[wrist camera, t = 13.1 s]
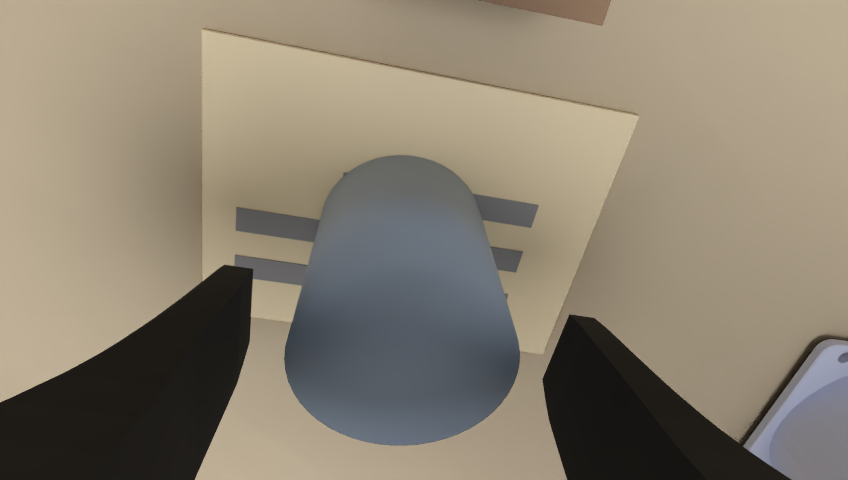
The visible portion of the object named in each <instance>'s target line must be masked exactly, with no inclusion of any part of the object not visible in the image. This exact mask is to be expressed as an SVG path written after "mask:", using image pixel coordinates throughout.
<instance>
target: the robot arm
mask: <svg viewBox="0 0 848 480" xmlns="http://www.w3.org/2000/svg"><path fill="white" fill-rule="evenodd" d="M252 285H253V269H251V268H244V267H237V266H231V265H223V266H222V267H220V268H219V269H217V270H216V271H215V272H214V273H212V274H211V275H210V276H209V277H207V278H206V279H205V280H204V281H202V282H201V283H200V284H199V285H197V286H196V287H195V288H194V289H192V290H191V291H190V292H189V293H187V294H186V295H185V296H183V297H182V298H181V299H179V300H178V301H177V302H175V303H174V304H173V305H171V306H170V307H169V308H167V309H166V310H165V311H163V312H162V313H161V314H159V315H158V316H157V317H155V318H154V319H152V320H151V321H149V322H148V323H146V324H145V325H143V326H142V327H140V328H139V329H137V330H136V331H134V332H133V333H131V334H130V335H128V336H127V337H125V338H124V339H122V340H121V341H119V342H118V343H116V344H115V345H113V346H111V347H110V348H108V349H106V350H105V351H103V352H101V353H100V354H98V355H96V356H94V357H93V358H91V359H89V360H87V361H85V362H83V363H82V364H80V365H78V366H76V367H74V368H72V369H70V370H69V371H67V372H65V373H63V374H61V375H59V376H56V377H54V378H52V379H50V380H48V381H46V382H44V383H42V384H39V385H37V386H35V387H33V388H31V389H29V390H27V391H25V392H22V393H20V394H18V395H16V396H14V397H12V398H10V399H7V400H5V401H3V402H0V480H195V478H196V475H197V473H198V470H199V468H200V466H201V464H202V461H203V459H204V457H205V455H206V452H207V450H208V448H209V446H210V443H211V441H212V439H213V437H214V434H215V432H216V430H217V428H218V425H219V423H220V421H221V419H222V416H223V414H224V412H225V410H226V407H227V405H228V403H229V400H230V398H231V396H232V394H233V391H234V389H235V387H236V384H237V382H238V378H239V375H240V372H241V369H242V366H243V362H244V359H245V355H246V352H247V349H248V345H249V341H250V322H251V303H252ZM543 386H544V392H545V399H546V405H547V411H548V416H549V421H550V424H551V428H552V431H553V435H554V438H555V441H556V445H557V448H558V451H559V454H560V458H561V461H562V464H563V467H564V470H565V474H566V477H567V480H848V341H843V340H836V339H828V340H825V341H822V342H821V343H819V344H818V345H817V346H816V347H815V348H814V349H813V351H812V352H811V354H810V355H809V356H808V358H807V359H806V360H805V362H804V363H803V365H802V366H801V367H800V369H799V370H798V371H797V373H796V374H795V376H794V377H793V378H792V380H791V381H790V382H789V384H788V385H787V387H786V388H785V389H784V391H783V392H782V393H781V395H780V396H779V398H778V399H777V400H776V402H775V403H774V404H773V406H772V407H771V409H770V410H769V411H768V413H767V414H766V415H765V417H764V418H763V420H762V421H761V422H760V424H759V425H758V426H757V428H756V429H755V431H754V432H753V433H752V435H751V436H750V437H749V439H748V440H747V442H746V443H745V444H744V446H742V445H740V444H739V443H738V442H736V441H735V440H734V439H732V438H731V437H730V436H728V435H727V434H726V433H724V432H723V431H722V430H720V429H719V428H718V427H716V426H715V425H714V424H713V423H711V422H710V421H709V420H708V419H706V418H705V417H704V416H703V415H701V414H700V413H699V412H698V411H697V410H696V409H694V408H693V407H692V406H691V405H690V404H688V403H687V402H686V401H685V400H684V399H683V398H681V397H680V396H679V395H678V394H677V393H676V392H675V391H673V390H672V389H671V388H670V387H669V386H668V385H667V384H666V383H664V382H663V381H662V380H661V379H660V378H659V377H658V376H657V375H656V374H655V373H654V372H653V371H651V370H650V369H649V368H648V367H647V366H646V365H645V364H644V363H643V362H642V361H641V360H640V359H639V358H638V357H637V356H635V355H634V354H633V353H632V352H631V351H630V350H629V349H628V348H627V347H626V346H625V345H624V344H623V343H622V342H621V341H620V340H619V339H618V338H616V337H615V336H614V335H613V334H612V333H611V332H610V331H609V330H608V329H607V328H606V327H604V326H603V325H602V324H601V323H600V322H598V321H597V320H596V319H595V318H590V317H583V316H576V315H569V317H568V319H567V322H566V324H565V327H564V329H563V331H562V334H561V336H560V339H559V341H558V343H557V346H556V348H555V351H554V353H553V355H552V358H551V360H550V363H549V365H548V367H547V370H546V372H545V375H544V377H543Z"/></svg>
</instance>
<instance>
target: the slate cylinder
mask: <svg viewBox="0 0 848 480" xmlns="http://www.w3.org/2000/svg"><path fill="white" fill-rule="evenodd" d="M284 360H285V370H286V374H287V378H288V382H289V384H290V386H291V388H292V390H293V393H294V394H295V396H296V397H297V399H298V400H299V402H300V403H301V404H302V405H303V406H304V408H305V409H306V410H307V411H308V412H309V413H310V414H311V415H313V416H314V417H315V418H316V419H317V420H319V421H320V422H322V423H323V424H325V425H326V426H327V427H329V428H331V429H333V430H335V431H337V432H339V433H341V434H344V435H346V436H349V437H351V438H354V439H358V440H361V441H365V442H370V443H375V444H383V445H418V444H424V443H430V442H435V441H439V440H442V439H446V438H449V437H451V436H454V435H457V434H459V433H461V432H463V431H466V430H468V429H470V428H471V427H473V426H475V425H476V424H478V423H479V422H481V421H482V420H484V419H485V418H486V417H487V416H489V415H490V414H491V413H492V412H493V411H494V410H495V409H496V408H497V407H498V406H499V405H500V404H501V403H502V401H503V400H504V399H505V398H506V396H507V395H508V393H509V391H510V390H511V388H512V386H513V384H514V381H515V379H516V376H517V373H518V368H519V363H520V349H519V342H518V337H517V334H516V331H515V327H514V324H513V321H512V317H511V314H510V311H509V307H508V304H507V301H506V297H505V294H504V290H503V287H502V284H501V280H500V277H499V274H498V270H497V267H496V264H495V260H494V257H493V254H492V250H491V247H490V244H489V240H488V237H487V234H486V230H485V227H484V224H483V220H482V217H481V214H480V210H479V207H478V204H477V201H476V199H475V197H474V195H473V193H472V192H471V190H470V189H469V187H468V186H467V185H466V184H465V183H464V181H463V180H462V179H461V178H460V177H459V176H457V175H456V174H455V173H454V172H453V171H451V170H450V169H448V168H446V167H445V166H443V165H441V164H439V163H436V162H434V161H432V160H428V159H425V158H422V157H416V156H407V155H395V156H386V157H381V158H377V159H374V160H371V161H368V162H366V163H364V164H362V165H359V166H357V167H356V168H354V169H353V170H351V171H350V172H348V173H347V174H346V175H345V176H344V177H343V178H341V179H340V180H339V182H338V183H337V184H336V185H335V186H334V187H333V189H332V191H331V192H330V194H329V195H328V197H327V199H326V202H325V204H324V207H323V211H322V214H321V218H320V222H319V225H318V229H317V233H316V236H315V240H314V244H313V247H312V251H311V255H310V258H309V262H308V266H307V269H306V273H305V277H304V280H303V284H302V288H301V291H300V295H299V299H298V302H297V306H296V310H295V313H294V317H293V321H292V324H291V328H290V332H289V335H288V339H287V343H286V346H285V357H284Z"/></svg>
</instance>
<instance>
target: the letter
mask: <svg viewBox="0 0 848 480" xmlns="http://www.w3.org/2000/svg"><path fill="white" fill-rule="evenodd" d="M638 119H639V115H637V114H633V113H628V112H623V111H618V110H613V109H608V108H603V107H598V106H593V105H588V104H583V103H578V102H573V101H568V100H563V99H558V98H553V97H548V96H543V95H537V94H532V93H527V92H522V91H517V90H512V89H507V88H502V87H497V86H492V85H487V84H482V83H477V82H472V81H467V80H462V79H457V78H452V77H447V76H442V75H436V74H431V73H426V72H421V71H416V70H411V69H406V68H401V67H396V66H391V65H386V64H381V63H376V62H371V61H366V60H361V59H356V58H351V57H346V56H341V55H335V54H330V53H325V52H320V51H315V50H310V49H305V48H300V47H295V46H290V45H285V44H280V43H275V42H270V41H265V40H260V39H255V38H250V37H245V36H240V35H234V34H229V33H224V32H219V31H214V30H209V29H202V281H204V280H205V279H206V278H207V277H209V276H210V275H211V274H212V273H214V272H215V271H216V270H217V269H219V268H220V267H222V266H223V265H231V266H237V267H244V268H251V269H253V285H252V303H251V317H255V318H263V319H271V320H279V321H286V322H292V321H293V317H294V313H295V310H296V306H297V302H298V299H299V295H300V291H301V288H302V284H303V280H304V277H305V273H306V269H307V266H308V262H309V258H310V255H311V251H312V247H313V244H314V240H315V236H316V233H317V229H318V225H319V222H320V218H321V214H322V211H323V207H324V204H325V202H326V199H327V197H328V195H329V194H330V192H331V191H332V189H333V187H334V186H335V185H336V184H337V183H338V182H339V180H340V179H341V178H343V177H344V176H345V175H346V174H347V173H348V172H350V171H351V170H353V169H354V168H356V167H357V166H359V165H362V164H364V163H366V162H368V161H371V160H374V159H377V158H381V157H386V156H395V155H407V156H416V157H422V158H425V159H428V160H432V161H434V162H436V163H439V164H441V165H443V166H445V167H446V168H448V169H450V170H451V171H453V172H454V173H455V174H456V175H457V176H459V177H460V178H461V179H462V180H463V181H464V183H465V184H466V185H467V186H468V187H469V189H470V190H471V192H472V193H473V195H474V197H475V199H476V201H477V204H478V207H479V210H480V214H481V217H482V220H483V224H484V227H485V230H486V234H487V237H488V240H489V244H490V247H491V250H492V254H493V257H494V260H495V264H496V267H497V270H498V274H499V277H500V280H501V284H502V287H503V290H504V294H505V297H506V301H507V304H508V307H509V311H510V314H511V317H512V321H513V324H514V327H515V331H516V334H517V337H518V342H519V349H520V352H527V353H535V354H543V353H544V350H545V348H546V345H547V343H548V340H549V338H550V335H551V333H552V331H553V328H554V326H555V323H556V321H557V318H558V316H559V313H560V311H561V308H562V306H563V303H564V301H565V299H566V296H567V294H568V291H569V289H570V286H571V284H572V281H573V279H574V276H575V274H576V271H577V269H578V267H579V264H580V262H581V259H582V257H583V254H584V252H585V249H586V247H587V244H588V242H589V239H590V237H591V235H592V232H593V230H594V227H595V225H596V222H597V220H598V217H599V215H600V212H601V210H602V207H603V205H604V203H605V200H606V198H607V195H608V193H609V190H610V188H611V185H612V183H613V180H614V178H615V175H616V173H617V170H618V168H619V166H620V163H621V161H622V158H623V156H624V153H625V151H626V148H627V146H628V143H629V141H630V138H631V136H632V134H633V131H634V129H635V126H636V124H637V121H638Z"/></svg>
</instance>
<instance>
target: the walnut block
mask: <svg viewBox="0 0 848 480" xmlns="http://www.w3.org/2000/svg"><path fill="white" fill-rule="evenodd" d="M480 1H485V2H490V3H495V4H500V5H504V6H509V7H514V8H519V9H524V10H528V11H533V12H538V13H543V14H548V15H552V16H557V17H562V18H567V19H572V20H576V21H581V22H586V23H591V24H596V25H600V26H602V25H603V22H604V19H605V16H606V13H607V10H608V7H609V4H610V1H611V0H480Z"/></svg>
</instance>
